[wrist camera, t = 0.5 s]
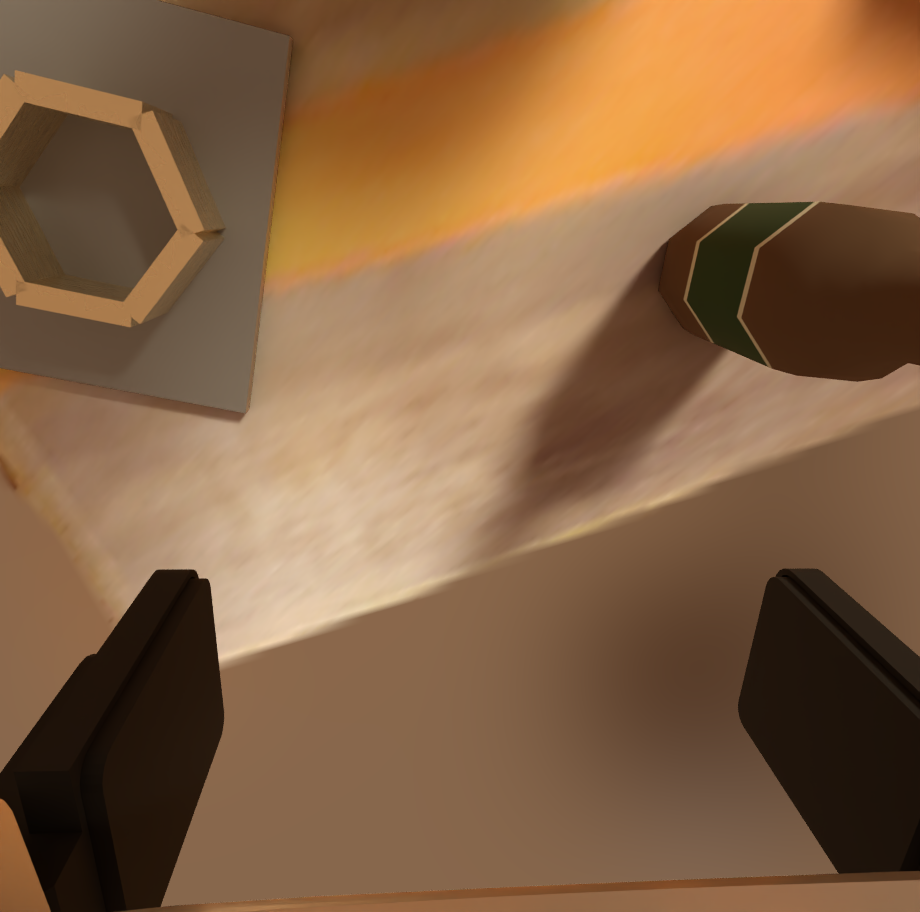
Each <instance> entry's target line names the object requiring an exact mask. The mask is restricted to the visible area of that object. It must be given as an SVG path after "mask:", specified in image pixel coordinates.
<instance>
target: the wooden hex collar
mask: <svg viewBox="0 0 920 912" xmlns="http://www.w3.org/2000/svg"><path fill="white" fill-rule="evenodd" d="M67 115H72V116H76V117H80V118H84V119H89V120H93V121H97V122H101V123H105V124H109V125H113V126H118V127H122V128H126V129H130V130H133V132H134V134H135V136H136V138H137V141H138V143H139V145H140V147H141V149H142V152H143V154H144V156H145V158H146V161H147V163H148V165H149V167H150V170H151V172H152V174H153V176H154V178H155V181H156V183H157V185H158V187H159V190H160V192H161V194H162V196H163V199H164V201H165V203H166V205H167V207H168V210H169V212H170V214H171V216H172V219H173V221H174V223H175V225H176V228H177V231H176V233H175V234H174V235H173V237H172V238H171V239H170V241H169V242H168V243H167V245H166V246H165V247H164V249H163V250H162V251H161V253H160V254H159V255H158V257H157V258H156V259H155V261H154V262H153V263H152V265H151V266H150V267H149V269H148V270H147V271H146V273H145V274H144V275H143V277H142V278H141V279H140V281H139V282H138V283H137V285H136V286H135V287H134V289H133V288H128V287H123V286H118V285H113V284H109V283H104V282H99V281H94V280H89V279H85V278H80V277H75V276H70V275H65V273H64V272H63V270H62V268H61V266H60V264H59V262H58V260H57V258H56V256H55V254H54V252H53V250H52V249H51V247H50V245H49V243H48V241H47V239H46V237H45V235H44V233H43V231H42V229H41V227H40V226H39V224H38V222H37V220H36V218H35V216H34V214H33V212H32V210H31V208H30V206H29V204H28V203H27V201H26V199H25V197H24V195H23V193H22V191H21V189H20V185H21V184H22V182H23V181H24V179H25V178H26V177H27V175H28V174H29V172H30V171H31V169H32V168H33V166H34V165H35V163H36V162H37V160H38V159H39V157H40V156H41V154H42V153H43V151H44V150H45V148H46V147H47V145H48V144H49V142H50V141H51V139H52V138H53V136H54V135H55V133H56V132H57V130H58V129H59V127H60V126H61V124H62V123H63V121H64V120H65V118H66V117H67ZM225 228H226V227H225V225H224V222H223V220H222V218H221V215H220V213H219V211H218V208H217V206H216V203H215V201H214V199H213V196H212V194H211V192H210V189H209V187H208V184H207V182H206V180H205V177H204V175H203V173H202V170H201V168H200V165H199V163H198V161H197V158H196V156H195V154H194V151H193V149H192V146H191V144H190V142H189V139H188V137H187V135H186V132H185V130H184V127H183V125H182V123H181V122H180V121H178V120H175V119H173V118H172V114H171V113H169V112H166V111H164V110H162V109H159V108H157V107H154V106H152V105H149V104H147V103H145V102H142V101H138V100H134V99H130V98H126V97H122V96H118V95H114V94H110V93H106V92H102V91H98V90H94V89H89V88H85V87H81V86H77V85H73V84H69V83H65V82H61V81H57V80H53V79H49V78H45V77H41V76H37V75H33V74H29V73H25V72H21V71H17V70H15V78H14V77H11V76H9V75H6V74H3V76H2V78H1V79H0V287H1V289H2V291H3V292H4V294H5V296H6V297H10V296H15V295H16V305H21V306H26V307H31V308H36V309H41V310H46V311H51V312H56V313H61V314H66V315H71V316H76V317H81V318H86V319H91V320H96V321H101V322H106V323H111V324H116V325H121V326H126V327H133V326H135V325H137V324H142V323H144V322H146V321H149V320H151V319H154V318H156V317H158V316H161V315H163V314H165V313H168V311H169V310H170V309H171V307H172V306H173V305H174V304H175V302H176V301H177V300H178V298H179V297H180V296H181V294H182V293H183V292H184V291H185V289H186V288H187V287H188V285H189V284H190V283H191V281H192V280H193V279H194V278H195V276H196V275H197V274H198V272H199V271H200V270H201V269H202V267H203V266H204V265H205V263H206V262H207V261H208V259H209V258H210V257H211V256H212V254H213V253H214V252H215V250H216V249H217V248H218V246H219V245H220V244H221V243H222V241H223V240H224V239H225V238H224V237H223V236H222V235H221V234H220V233H218V232H217V231H219V230H222V229H225Z"/></svg>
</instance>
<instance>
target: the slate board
mask: <svg viewBox="0 0 920 912" xmlns="http://www.w3.org/2000/svg"><path fill="white" fill-rule="evenodd" d="M292 45H293V40H292V39H291V37H290V36H288V35H285V34H281V33H277V32H273V31H270V30H266V29H262V28H259V27H255V26H251V25H247V24H244V23H240V22H236V21H233V20H229V19H225V18H222V17H218V16H214V15H210V14H207V13H203V12H199V11H196V10H192V9H188V8H184V7H181V6H177V5H173V4H170V3H166V2H162V1H159V0H0V79H1V78H2V76H3V74H6V75H9V76H11V77H14V78H15V70H17V71H21V72H25V73H29V74H33V75H37V76H41V77H45V78H49V79H53V80H57V81H61V82H65V83H69V84H73V85H77V86H81V87H85V88H89V89H94V90H98V91H102V92H106V93H110V94H114V95H118V96H122V97H126V98H130V99H134V100H138V101H142V102H145V103H147V104H149V105H152V106H154V107H157V108H159V109H162V110H164V111H166V112H169V113H171V114H172V118H173V119H175V120H178V121H180V122H181V123H182V125H183V127H184V130H185V132H186V135H187V137H188V139H189V142H190V144H191V146H192V149H193V151H194V154H195V156H196V158H197V161H198V163H199V165H200V168H201V170H202V173H203V175H204V177H205V180H206V182H207V184H208V187H209V189H210V192H211V194H212V196H213V199H214V201H215V203H216V206H217V208H218V211H219V213H220V215H221V218H222V220H223V222H224V225H225V227H226V228H225V229H222V230H219V231H217V232H218V233H220V234H221V235H222V236H223V237H224V238H225V239H224V240H223V241H222V243H221V244H220V245H219V246H218V248H217V249H216V250H215V252H214V253H213V254H212V256H211V257H210V258H209V259H208V261H207V262H206V263H205V265H204V266H203V267H202V269H201V270H200V271H199V272H198V274H197V275H196V276H195V278H194V279H193V280H192V281H191V283H190V284H189V285H188V287H187V288H186V289H185V291H184V292H183V293H182V294H181V296H180V297H179V298H178V300H177V301H176V302H175V304H174V305H173V306H172V307H171V309H170V310H169V311H168V313H165V314H163V315H161V316H158V317H156V318H154V319H151V320H149V321H146V322H144V323H142V324H137V325H135V326H133V327H126V326H121V325H116V324H111V323H106V322H101V321H96V320H91V319H86V318H81V317H76V316H71V315H66V314H61V313H56V312H51V311H46V310H41V309H36V308H31V307H26V306H21V305H16V295H15V296H10V297H6V296H5V294H4V292H3V291H2V289H1V287H0V368H3V369H8V370H14V371H19V372H24V373H30V374H35V375H41V376H46V377H51V378H57V379H62V380H68V381H73V382H78V383H84V384H89V385H95V386H100V387H105V388H111V389H116V390H122V391H127V392H132V393H138V394H143V395H149V396H154V397H159V398H165V399H170V400H176V401H181V402H186V403H192V404H197V405H203V406H208V407H213V408H219V409H224V410H230V411H235V412H240V413H246V412H247V411H248V410H249V408H250V400H251V391H252V383H253V374H254V366H255V358H256V349H257V341H258V332H259V324H260V315H261V307H262V298H263V290H264V282H265V273H266V265H267V256H268V248H269V239H270V231H271V222H272V214H273V206H274V197H275V189H276V180H277V172H278V163H279V155H280V147H281V138H282V130H283V121H284V113H285V104H286V96H287V87H288V79H289V71H290V62H291V54H292ZM20 189H21V191H22V193H23V195H24V197H25V199H26V201H27V203H28V204H29V206H30V208H31V210H32V212H33V214H34V216H35V218H36V220H37V222H38V224H39V226H40V227H41V229H42V231H43V233H44V235H45V237H46V239H47V241H48V243H49V245H50V247H51V249H52V250H53V252H54V254H55V256H56V258H57V260H58V262H59V264H60V266H61V268H62V270H63V272H64V273H65V275H70V276H75V277H80V278H85V279H89V280H94V281H99V282H104V283H109V284H113V285H118V286H123V287H128V288H133V289H134V287H135V286H136V285H137V283H138V282H139V281H140V279H141V278H142V277H143V275H144V274H145V273H146V271H147V270H148V269H149V267H150V266H151V265H152V263H153V262H154V261H155V259H156V258H157V257H158V255H159V254H160V253H161V251H162V250H163V249H164V247H165V246H166V245H167V243H168V242H169V241H170V239H171V238H172V237H173V235H174V234H175V233H176V231H177V228H176V225H175V223H174V221H173V219H172V216H171V214H170V212H169V210H168V207H167V205H166V203H165V201H164V199H163V196H162V194H161V192H160V190H159V187H158V185H157V183H156V181H155V178H154V176H153V174H152V172H151V170H150V167H149V165H148V163H147V161H146V158H145V156H144V154H143V152H142V149H141V147H140V145H139V143H138V141H137V138H136V136H135V134H134V132H133V130H130V129H126V128H122V127H118V126H113V125H109V124H105V123H101V122H97V121H93V120H89V119H84V118H80V117H76V116H72V115H67V117H66V118H65V120H64V121H63V123H62V124H61V126H60V127H59V129H58V130H57V132H56V133H55V135H54V136H53V138H52V139H51V141H50V142H49V144H48V145H47V147H46V148H45V150H44V151H43V153H42V154H41V156H40V157H39V159H38V160H37V162H36V163H35V165H34V166H33V168H32V169H31V171H30V172H29V174H28V175H27V177H26V178H25V179H24V181H23V182H22V184H21V185H20Z"/></svg>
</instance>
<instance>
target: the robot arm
mask: <svg viewBox="0 0 920 912" xmlns="http://www.w3.org/2000/svg"><path fill="white" fill-rule="evenodd" d="M738 712H739V717H740V720H741V723H742V724H743V726H744V728H745V729H746V731H747V733H748V734H749V736H750V737H751V739H752V740H753V742H754V743H755V745H756V747H757V748H758V750H759V751H760V753H761V754H762V756H763V757H764V759H765V760H766V762H767V764H768V765H769V767H770V768H771V770H772V771H773V773H774V774H775V776H776V777H777V779H778V781H779V782H780V784H781V785H782V787H783V788H784V790H785V791H786V793H787V794H788V796H789V798H790V799H791V800H792V802H793V804H794V805H795V807H796V808H797V810H798V811H799V813H800V815H801V816H802V818H803V819H804V821H805V822H806V824H807V825H808V827H809V828H810V830H811V831H812V833H813V834H814V836H815V838H816V839H817V841H818V842H819V844H820V845H821V847H822V848H823V850H824V852H825V853H826V855H827V856H828V858H829V859H830V861H831V862H832V864H833V865H834V867H835V869H836V870H837V872H838V873H839V874H816V875H788V876H763V877H762V876H760V877H733V878H709V879H684V880H659V881H635V882H613V883H612V882H611V883H588V884H566V885H543V886H520V887H499V888H476V889H456V890H437V891H415V892H394V893H374V894H353V895H333V896H313V897H297V898H281V899H266V900H252V901H236V902H220V903H205V904H191V905H176V906H166V907H160V906H161V904H162V901H163V898H164V895H165V892H166V890H167V887H168V883H169V881H170V878H171V876H172V873H173V870H174V867H175V864H176V862H177V859H178V856H179V853H180V850H181V848H182V845H183V842H184V839H185V836H186V833H187V831H188V828H189V825H190V822H191V820H192V816H193V814H194V811H195V808H196V806H197V802H198V800H199V797H200V794H201V792H202V788H203V786H204V783H205V780H206V778H207V775H208V772H209V769H210V766H211V764H212V761H213V758H214V755H215V752H216V750H217V747H218V744H219V741H220V738H221V735H222V731H223V724H224V708H223V698H222V689H221V680H220V671H219V661H218V652H217V643H216V633H215V624H214V615H213V606H212V596H211V587H210V583H209V580H208V579H199V577H198V574H197V572H196V571H195V570H156V571H155V572H154V573H153V574H152V576H151V577H150V579H149V580H148V582H147V583H146V584H145V586H144V587H143V589H142V590H141V591H140V593H139V594H138V596H137V597H136V599H135V600H134V601H133V603H132V604H131V606H130V607H129V609H128V610H127V611H126V613H125V614H124V616H123V617H122V618H121V620H120V621H119V623H118V624H117V626H116V627H115V628H114V630H113V631H112V633H111V634H110V635H109V637H108V638H107V640H106V641H105V643H104V644H103V645H102V647H101V648H100V650H99V651H98V653H97V654H92V655H90V656H87V657H86V658H85V659H84V660H83V661H82V662H81V663H80V664H79V666H78V667H77V668H76V670H75V671H74V672H73V674H72V675H71V676H70V678H69V679H68V681H67V682H66V683H65V685H64V686H63V688H62V689H61V690H60V692H59V693H58V694H57V696H56V697H55V699H54V700H53V701H52V703H51V704H50V705H49V707H48V708H47V710H46V711H45V712H44V714H43V715H42V716H41V718H40V719H39V721H38V722H37V723H36V725H35V726H34V727H33V729H32V730H31V732H30V733H29V735H28V736H27V737H26V738H25V740H24V741H23V743H22V744H21V745H20V747H19V748H18V749H17V751H16V752H15V754H14V755H13V756H12V758H11V759H10V761H9V762H8V763H7V765H6V766H5V767H4V769H3V771H2V772H1V773H0V912H920V657H919V656H918V655H917V654H916V653H914V652H913V651H912V650H911V649H910V648H909V647H907V646H906V645H905V644H904V643H903V642H902V641H901V640H899V639H898V638H897V637H896V636H895V635H894V634H893V633H891V632H890V631H889V630H888V629H887V628H886V627H885V626H884V625H882V624H881V623H880V622H879V621H878V620H877V619H876V618H874V617H873V616H872V615H871V614H870V613H869V612H868V611H866V610H865V609H864V608H863V607H862V606H861V605H860V604H858V603H857V602H856V601H855V600H854V599H853V598H852V597H850V596H849V595H848V594H847V593H846V592H845V591H844V590H842V589H841V588H840V587H839V586H838V585H837V584H836V583H834V582H833V581H832V580H831V579H830V578H829V577H828V576H826V575H825V574H824V573H823V572H822V571H820V570H818V569H782V570H780V571H779V572H778V573H777V575H776V577H772V578H770V579H769V581H768V582H767V585H766V589H765V593H764V597H763V601H762V605H761V609H760V614H759V618H758V622H757V626H756V630H755V635H754V639H753V643H752V648H751V651H750V656H749V660H748V664H747V668H746V672H745V676H744V681H743V685H742V689H741V694H740V697H739V702H738Z"/></svg>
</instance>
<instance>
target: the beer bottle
mask: <svg viewBox="0 0 920 912" xmlns="http://www.w3.org/2000/svg"><path fill="white" fill-rule="evenodd" d="M658 291H659V292H660V294H661V295H662V297H663V298H664V300H665V301H666V303H667V304H668V306H669V307H670V309H671V310H672V312H673V314H674V315H675V317H676V318H677V320H678V321H679V323H680V324H681V326H682V327H683V328H684V329H685V330H687V331H689V332H690V333H692V334H694V335H696V336H698V337H700V338H703V339H705V340H707V341H710V342H712V343H714V344H717V345H719V346H721V347H723V348H726V349H728V350H730V351H733V352H735V353H737V354H740V355H742V356H744V357H747V358H749V359H751V360H753V361H756V362H758V363H760V364H763V365H765V366H767V367H770V368H772V369H775V370H779V371H782V372H786V373H790V374H793V375H797V376H807V377H817V378H827V379H837V380H847V381H857V382H858V381H865V380H873V379H880V378H883V377H885V376H886V375H888V374H890V373H891V372H893V371H895V370H897V369H898V368H900V367H902V366H904V365H905V364H907V363H911V364H916V365H920V218H919V217H918V216H916V215H915V214H912V213H905V212H897V211H890V210H882V209H874V208H867V207H859V206H852V205H843V204H834V203H825V202H792V203H748V204H722V205H716V206H711V207H709V208H708V209H707V210H706V211H704V212H703V213H702V214H701V215H699V216H698V217H697V218H696V219H694V220H693V221H692V222H690V223H689V224H688V225H687V226H685V227H684V228H683V229H682V230H680V231H679V232H678V233H677V234H675V235H674V236H673V237H671V238H670V239H669V242H668V247H667V251H666V256H665V261H664V265H663V270H662V275H661V280H660V284H659V289H658Z"/></svg>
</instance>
